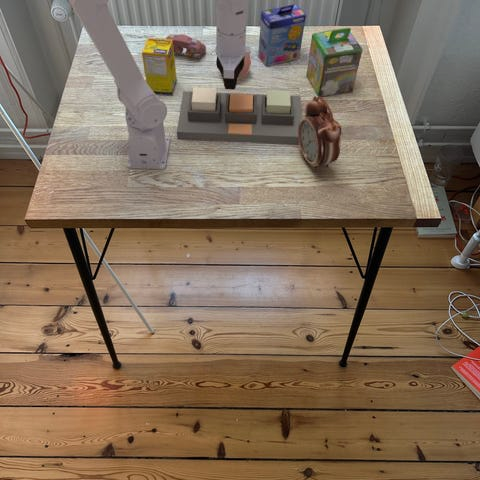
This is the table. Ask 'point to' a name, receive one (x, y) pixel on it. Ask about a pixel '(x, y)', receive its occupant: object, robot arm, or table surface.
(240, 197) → the table surface
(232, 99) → the terracotta button
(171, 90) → the supplement box
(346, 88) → the chalk box
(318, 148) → the alarm clock
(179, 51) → the red toy car
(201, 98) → the cream button
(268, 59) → the blue cardboard box
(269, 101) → the sage button
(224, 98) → the control board
